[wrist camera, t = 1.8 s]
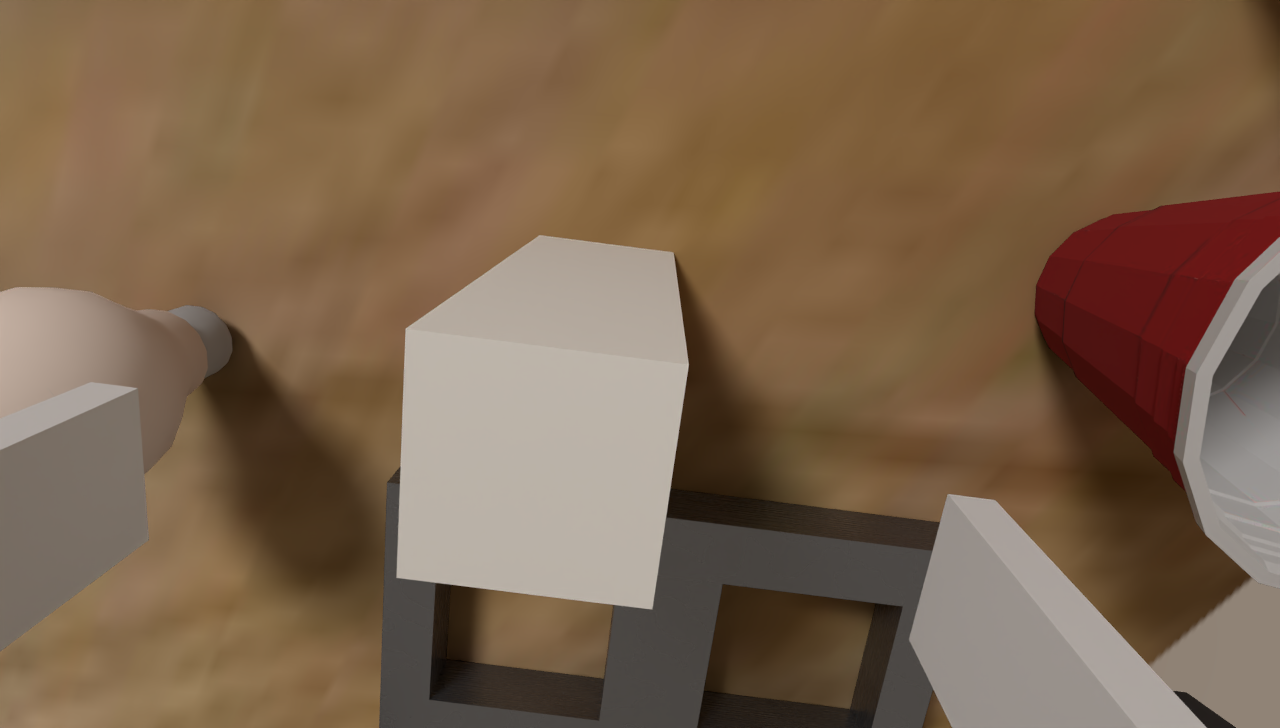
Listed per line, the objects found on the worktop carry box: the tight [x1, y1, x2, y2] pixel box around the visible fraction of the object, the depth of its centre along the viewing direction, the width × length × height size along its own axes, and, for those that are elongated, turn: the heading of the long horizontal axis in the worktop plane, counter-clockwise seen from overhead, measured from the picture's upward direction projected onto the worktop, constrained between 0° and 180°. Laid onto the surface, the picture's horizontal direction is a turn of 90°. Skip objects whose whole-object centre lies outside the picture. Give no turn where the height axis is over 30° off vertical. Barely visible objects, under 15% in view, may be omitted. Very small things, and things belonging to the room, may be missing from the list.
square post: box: [397, 235, 689, 609], centre depth 21 cm, size 5×5×15 cm
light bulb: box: [0, 287, 232, 474], centre depth 23 cm, size 7×7×11 cm
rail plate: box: [379, 466, 940, 728], centre depth 30 cm, size 22×12×2 cm, turn 83°
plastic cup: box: [1035, 192, 1280, 589], centre depth 22 cm, size 11×11×12 cm
